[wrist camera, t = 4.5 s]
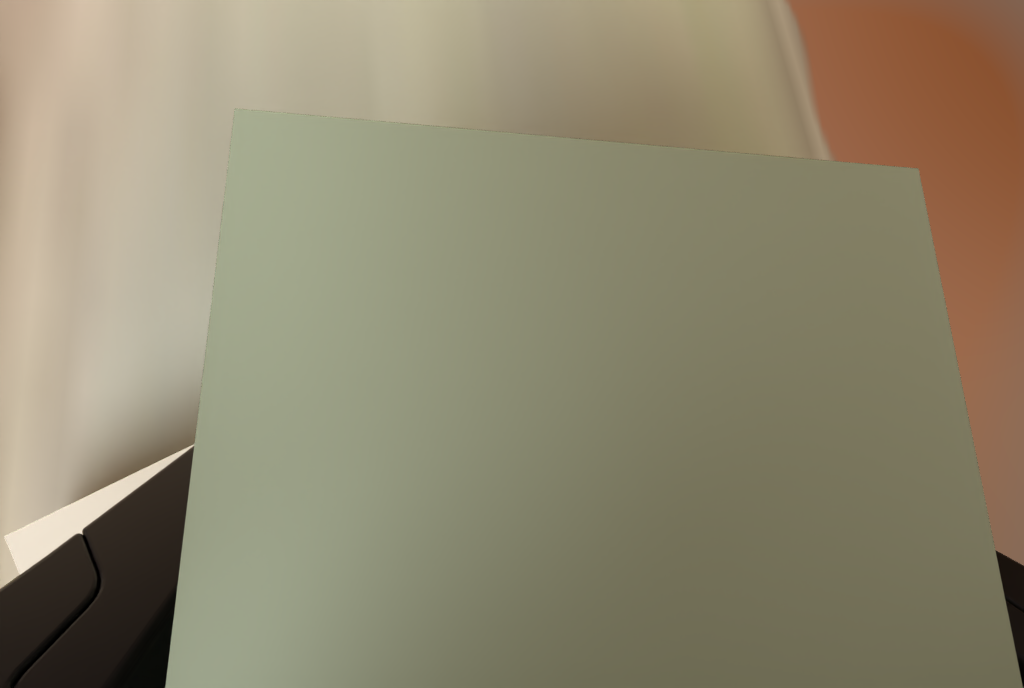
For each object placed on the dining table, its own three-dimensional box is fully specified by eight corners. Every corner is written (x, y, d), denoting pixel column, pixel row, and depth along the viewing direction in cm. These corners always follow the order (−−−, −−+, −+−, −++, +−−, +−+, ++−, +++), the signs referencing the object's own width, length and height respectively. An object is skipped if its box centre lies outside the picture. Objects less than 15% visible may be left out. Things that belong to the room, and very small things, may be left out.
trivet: (753, 723, 16) (801, 750, 14) (289, 1088, 13) (270, 1189, 11) (515, 307, 18) (529, 281, 16) (56, 534, 14) (3, 536, 13)
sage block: (587, 643, 13) (1076, 956, 4) (334, 654, 12) (118, 1092, 3) (578, 401, 14) (919, 169, 5) (349, 397, 14) (234, 108, 4)
